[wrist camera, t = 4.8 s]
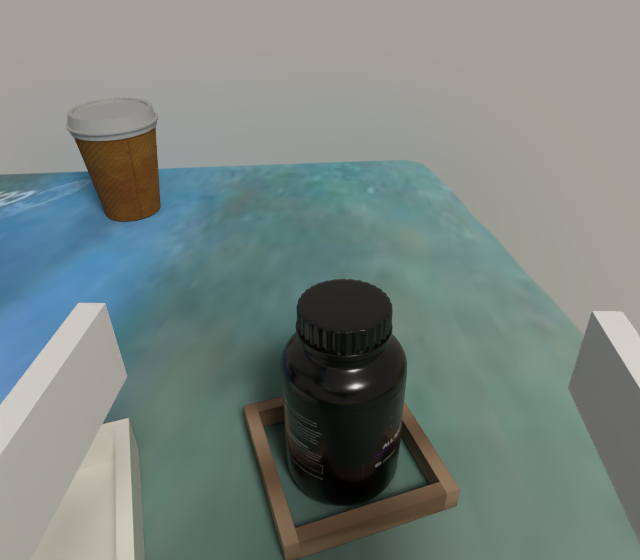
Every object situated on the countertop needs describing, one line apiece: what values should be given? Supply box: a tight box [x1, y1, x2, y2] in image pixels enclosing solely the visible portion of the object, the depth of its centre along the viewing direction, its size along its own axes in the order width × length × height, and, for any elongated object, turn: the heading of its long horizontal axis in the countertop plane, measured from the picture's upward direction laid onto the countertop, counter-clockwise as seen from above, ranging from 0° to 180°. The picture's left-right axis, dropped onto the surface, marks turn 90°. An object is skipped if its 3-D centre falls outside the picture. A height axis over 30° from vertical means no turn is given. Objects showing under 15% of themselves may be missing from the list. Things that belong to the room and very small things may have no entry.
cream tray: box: [31, 418, 145, 560], centre depth 27 cm, size 12×12×3 cm
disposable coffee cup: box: [66, 98, 161, 221], centre depth 60 cm, size 10×10×12 cm
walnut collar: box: [244, 396, 460, 560], centre depth 33 cm, size 10×10×2 cm
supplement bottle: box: [281, 279, 407, 506], centre depth 30 cm, size 7×7×12 cm
